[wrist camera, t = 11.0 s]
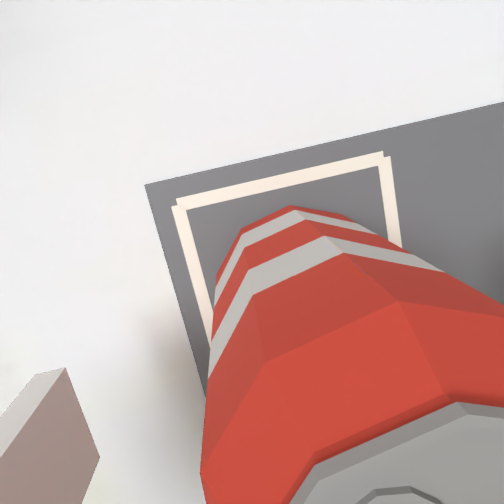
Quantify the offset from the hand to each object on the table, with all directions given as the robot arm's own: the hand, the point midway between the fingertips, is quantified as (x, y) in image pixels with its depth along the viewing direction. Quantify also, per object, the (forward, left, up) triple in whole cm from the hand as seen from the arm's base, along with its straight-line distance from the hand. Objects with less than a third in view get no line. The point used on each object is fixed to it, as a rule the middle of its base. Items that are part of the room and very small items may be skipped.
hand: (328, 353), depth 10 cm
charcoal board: (+5, 0, -6) cm, 8 cm away
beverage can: (0, 0, -6) cm, 6 cm away
